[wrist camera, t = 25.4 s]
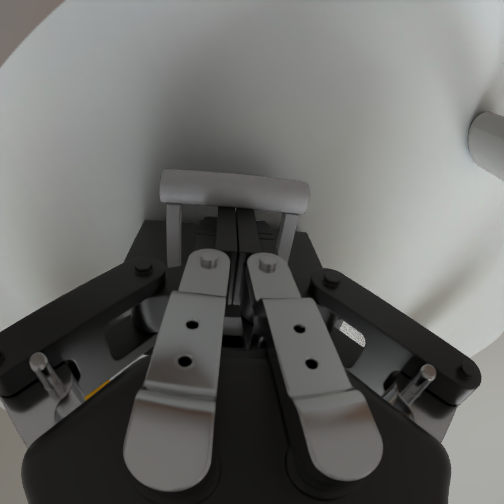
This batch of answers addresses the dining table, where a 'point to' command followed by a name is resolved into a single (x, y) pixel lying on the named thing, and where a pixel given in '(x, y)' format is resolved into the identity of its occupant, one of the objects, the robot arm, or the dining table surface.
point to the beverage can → (488, 143)
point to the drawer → (236, 196)
